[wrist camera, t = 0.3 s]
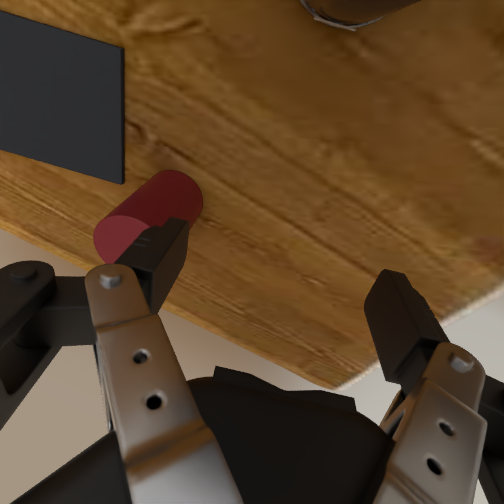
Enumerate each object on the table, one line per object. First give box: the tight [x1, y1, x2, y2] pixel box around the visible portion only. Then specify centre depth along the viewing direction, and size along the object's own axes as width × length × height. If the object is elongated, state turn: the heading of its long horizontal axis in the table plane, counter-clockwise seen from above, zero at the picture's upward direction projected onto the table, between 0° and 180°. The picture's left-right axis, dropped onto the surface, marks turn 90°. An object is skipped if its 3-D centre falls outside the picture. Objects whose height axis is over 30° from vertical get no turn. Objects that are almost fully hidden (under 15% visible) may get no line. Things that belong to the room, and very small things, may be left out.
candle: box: [93, 170, 203, 264], centre depth 27 cm, size 6×6×11 cm
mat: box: [0, 10, 124, 185], centre depth 27 cm, size 12×17×1 cm
